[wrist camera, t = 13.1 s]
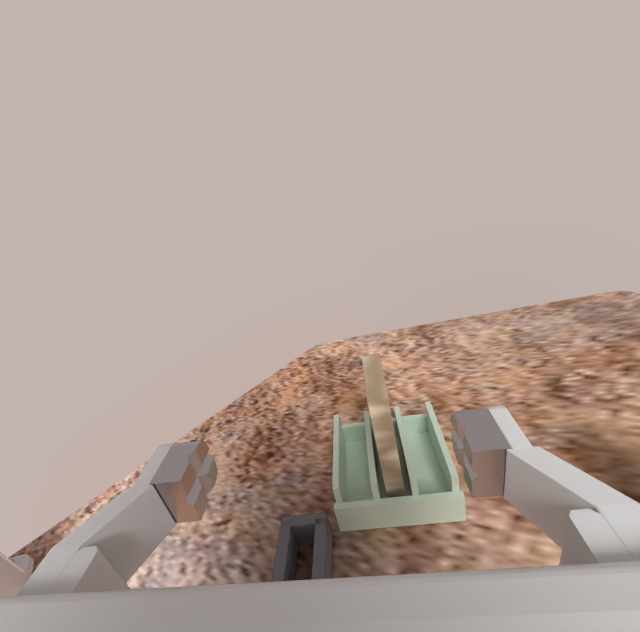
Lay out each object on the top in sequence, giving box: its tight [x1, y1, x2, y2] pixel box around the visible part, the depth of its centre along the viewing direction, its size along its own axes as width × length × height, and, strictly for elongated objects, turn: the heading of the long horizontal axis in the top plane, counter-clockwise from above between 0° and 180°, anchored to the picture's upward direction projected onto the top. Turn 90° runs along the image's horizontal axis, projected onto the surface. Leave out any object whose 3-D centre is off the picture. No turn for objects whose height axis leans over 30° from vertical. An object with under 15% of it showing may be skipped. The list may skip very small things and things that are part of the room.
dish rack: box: [332, 402, 466, 532], centre depth 35 cm, size 12×11×6 cm
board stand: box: [272, 513, 333, 582], centre depth 28 cm, size 4×10×3 cm, turn 177°
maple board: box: [362, 354, 405, 498], centre depth 33 cm, size 2×7×13 cm, turn 177°
